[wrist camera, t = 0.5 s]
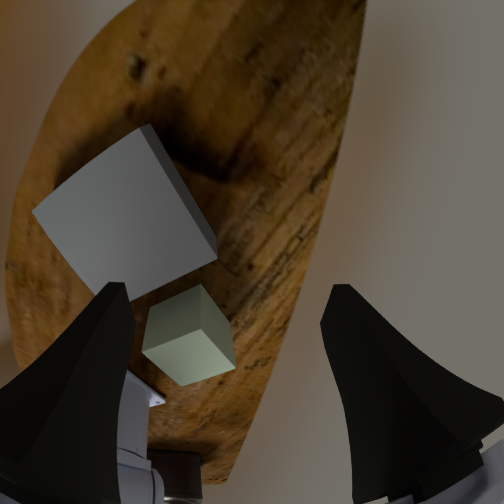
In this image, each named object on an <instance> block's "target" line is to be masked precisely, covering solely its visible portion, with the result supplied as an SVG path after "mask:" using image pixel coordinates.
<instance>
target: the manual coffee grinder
mask: <svg viewBox="0 0 504 504" xmlns="http://www.w3.org/2000/svg"><path fill="white" fill-rule="evenodd" d="M200 458H201V457H200V455H199V454H198V453H192V452H181V451H168V450H157V449H147V458H146V460H150V461H151V468H154V469H156V470H157V472H158V473H159V475H160V476H161V478H162V480H163V485H164V504H201V502H202V499H203V497H202V482H201V469H200V467H202V466H203V462H202V461H201V459H200Z"/></svg>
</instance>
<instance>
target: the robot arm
mask: <svg viewBox="0 0 504 504" xmlns="http://www.w3.org/2000/svg"><path fill="white" fill-rule="evenodd" d="M320 326H321V332H322V337H323V341H324V347H325V350H326V353H327V356H328V359H329V362H330V365H331V368H332V371H333V375H334V377H335V380H336V384H337V386H338V390H339V392H340V396H341V399H342V403H343V407H344V412H345V417H346V423H347V428H348V436H349V443H350V452H351V463H352V498H353V503H354V504H363V503H367V502H370V501H374V500H377V499H380V498H383V497H385V496H387V497H388V501H389V502H388V503H385V504H499V503H501V502H502V501H503V500H504V440H503V439H502V440H500V441H498V442H497V443H496V444H494V445H493V446H491V447H490V448H489V449H487V450H486V451H484V452H482V453H481V454H480V452H479V449H481V448H482V447H483V444H482V442H481V439H483V438H485V437H486V436H487V435H489V434H490V433H492V432H493V431H494V430H495V429H497V428H498V427H500V426H501V425H502V424H504V401H503V399H502V398H501V397H498V396H496V395H494V394H491V393H489V392H487V391H484V390H482V389H480V388H477V387H476V386H474V385H472V384H470V383H468V382H466V381H464V380H463V379H461V378H459V377H458V376H456V375H454V374H453V373H451V372H449V371H448V370H447V369H445V368H444V367H442V366H441V365H439V364H438V363H436V362H435V361H433V360H432V359H431V358H430V357H428V356H427V355H426V354H424V353H423V352H422V351H420V350H419V349H418V348H417V347H416V346H414V345H413V344H412V343H411V342H410V341H409V340H407V339H406V338H405V337H404V336H403V335H402V334H401V333H400V332H398V331H397V330H396V329H395V328H394V327H393V326H392V325H391V324H390V323H389V322H388V321H387V320H386V319H385V318H383V316H382V315H381V314H380V313H378V312H377V311H376V310H375V309H374V308H373V307H372V306H371V305H370V304H369V303H368V302H367V301H366V300H365V299H364V298H363V297H362V296H361V295H360V294H359V293H358V292H357V291H356V290H355V289H354V288H353V287H352V286H351V285H349V284H334V285H333V288H332V291H331V294H330V297H329V300H328V302H327V305H326V308H325V311H324V314H323V317H322V319H321V322H320ZM134 331H135V319H134V316H133V312H132V309H131V305H130V301H129V298H128V294H127V290H126V286H125V282H108V283H107V284H106V285H105V286H104V287H103V288H102V289H101V290H100V291H99V293H98V294H97V295H96V296H95V297H94V298H93V299H92V300H91V302H90V303H89V304H88V305H87V306H86V307H85V309H84V310H83V311H82V312H81V313H80V314H79V315H78V316H77V318H76V319H75V320H74V321H73V322H72V323H71V324H70V326H69V327H68V328H67V329H66V330H65V331H64V332H63V333H62V334H61V335H60V336H59V337H58V338H57V339H56V341H55V342H54V343H53V344H52V345H51V346H50V347H49V348H48V349H47V350H46V351H45V352H44V353H43V354H42V355H41V356H39V357H38V358H37V359H36V360H35V361H34V362H33V363H32V364H31V365H30V366H29V367H27V368H26V369H25V370H24V371H23V372H21V373H20V374H19V375H18V376H16V377H15V378H14V379H13V380H12V381H10V382H9V383H8V384H7V385H5V386H4V387H2V388H1V389H0V504H164V485H163V480H162V478H161V476H160V475H159V473H158V472H157V470H156V469H154V468H151V461H150V460H146V458H147V435H148V419H149V407H151V406H155V405H159V404H163V403H165V401H166V400H165V398H163V397H162V396H161V395H159V394H158V393H157V392H155V391H154V390H153V389H151V388H150V387H149V386H147V385H146V384H145V383H144V382H142V381H141V380H140V379H139V378H137V377H136V376H135V375H134V374H132V373H131V372H130V371H129V370H128V364H129V360H130V356H131V352H132V346H133V339H134Z"/></svg>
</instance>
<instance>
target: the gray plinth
mask: <svg viewBox="0 0 504 504" xmlns="http://www.w3.org/2000/svg"><path fill="white" fill-rule="evenodd" d="M32 213H33V214H34V216H35V217H36V219H37V220H38V222H39V223H40V225H41V226H42V228H43V229H44V231H45V232H46V233H47V235H48V236H49V238H50V239H51V240H52V242H53V243H54V245H55V246H56V247H57V249H58V250H59V251H60V253H61V254H62V255H63V257H64V258H65V259H66V260H67V262H68V263H69V264H70V266H71V267H72V268H73V269H74V271H75V272H76V273H77V274H78V276H79V277H80V278H81V279H82V280H83V282H84V283H85V284H86V285H87V286H88V287H89V289H90V290H91V291H92V292H93V293H94V294H95V296H96V295H97V294H98V293H99V291H100V290H101V289H102V288H103V287H104V286H105V285H106V284H107V283H108V282H125V286H126V290H127V294H128V298H129V301H132V300H134V299H136V298H138V297H140V296H142V295H144V294H146V293H148V292H150V291H152V290H154V289H156V288H158V287H160V286H163V285H165V284H167V283H169V282H171V281H173V280H175V279H177V278H179V277H181V276H183V275H185V274H187V273H189V272H191V271H193V270H195V269H197V268H199V267H201V266H204V265H206V264H208V263H210V262H212V261H214V260H216V259H218V254H217V240H216V235H215V234H214V232H213V230H212V229H211V227H210V225H209V224H208V222H207V220H206V219H205V217H204V215H203V213H202V212H201V210H200V208H199V207H198V205H197V203H196V202H195V200H194V198H193V197H192V195H191V193H190V192H189V190H188V188H187V186H186V185H185V183H184V181H183V180H182V178H181V176H180V174H179V173H178V171H177V169H176V168H175V166H174V164H173V162H172V161H171V159H170V157H169V155H168V154H167V152H166V150H165V148H164V147H163V145H162V143H161V141H160V140H159V138H158V136H157V134H156V133H155V131H154V129H153V127H152V126H151V124H147V125H144V126H142V127H139V128H138V129H136V130H134V131H133V132H131V133H130V134H128V135H127V136H125V137H124V138H122V139H121V140H119V141H118V142H116V143H115V144H113V145H112V146H111V147H109V148H108V149H106V150H105V151H104V152H102V153H101V154H99V155H98V156H97V157H95V158H94V159H93V160H91V161H90V162H89V163H87V164H86V165H85V166H84V167H82V168H81V169H80V170H78V171H77V172H76V173H75V174H73V175H72V176H71V177H70V178H69V179H67V180H66V181H65V182H64V183H63V184H61V185H60V186H59V187H58V188H57V189H56V190H54V191H53V192H52V193H51V194H50V195H49V196H48V197H47V198H46V199H44V200H43V201H42V202H41V203H40V204H39V205H38V206H37V207H36V208H35V209H34V210H33V211H32Z"/></svg>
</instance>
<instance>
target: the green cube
mask: <svg viewBox="0 0 504 504" xmlns="http://www.w3.org/2000/svg"><path fill="white" fill-rule="evenodd" d="M142 353H143V354H144V355H145V356H146V357H147V358H149V359H150V360H151V361H152V362H153V363H154V364H155V365H156V366H158V367H159V368H160V369H161V370H162V371H163V372H164V373H166V374H167V375H168V376H169V377H170V378H172V379H173V380H174V381H175V382H176V383H178V384H179V385H180V386H184V385H188V384H191V383H194V382H197V381H200V380H203V379H206V378H209V377H212V376H215V375H218V374H221V373H224V372H227V371H230V370H232V369H235V368H236V363H235V356H234V348H233V340H232V332H231V324H230V322H229V321H228V320H227V319H226V317H225V316H224V315H223V313H222V312H221V311H220V309H219V308H218V307H217V305H216V304H215V302H214V301H213V300H212V298H211V297H210V296H209V294H208V293H207V292H206V290H205V289H204V287H203V286H202V285H201V284H199V285H197V286H195V287H193V288H190V289H188V290H186V291H184V292H182V293H180V294H178V295H175V296H173V297H171V298H169V299H167V300H165V301H163V302H160V303H158V304H156V305H154V306H152V307H150V309H149V314H148V319H147V324H146V330H145V335H144V340H143V346H142Z"/></svg>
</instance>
